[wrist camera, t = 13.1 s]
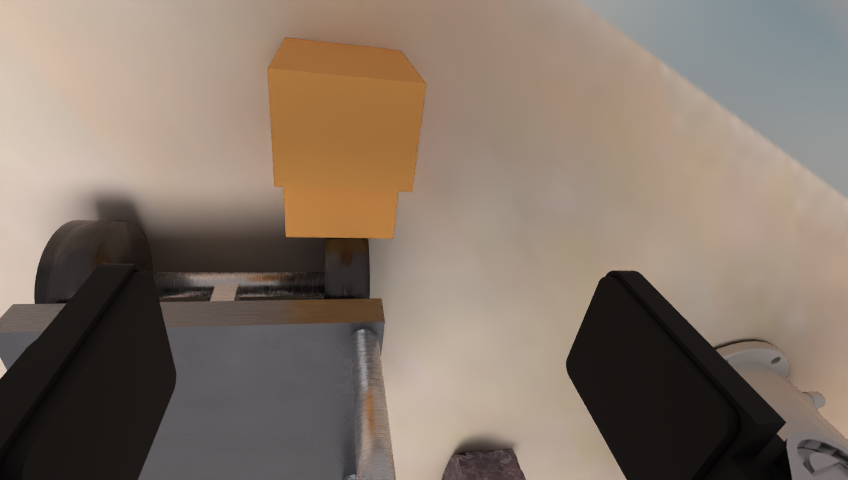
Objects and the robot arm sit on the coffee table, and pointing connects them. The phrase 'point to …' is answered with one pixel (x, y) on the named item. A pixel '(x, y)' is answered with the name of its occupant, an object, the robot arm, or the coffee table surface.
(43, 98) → the coffee table surface
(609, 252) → the coffee table surface
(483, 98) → the coffee table surface
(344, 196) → the block
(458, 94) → the coffee table surface
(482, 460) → the stone
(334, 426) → the trolley
